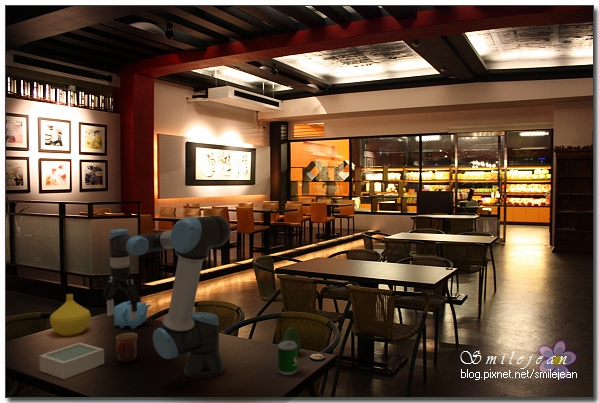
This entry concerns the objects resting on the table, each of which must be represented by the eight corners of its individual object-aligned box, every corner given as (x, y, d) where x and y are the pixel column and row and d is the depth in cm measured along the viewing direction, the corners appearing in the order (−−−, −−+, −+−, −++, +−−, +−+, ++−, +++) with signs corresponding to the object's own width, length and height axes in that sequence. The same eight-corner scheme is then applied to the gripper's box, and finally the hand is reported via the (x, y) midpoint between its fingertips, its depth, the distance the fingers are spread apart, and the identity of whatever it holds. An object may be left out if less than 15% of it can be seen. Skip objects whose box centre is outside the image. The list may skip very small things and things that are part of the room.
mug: (123, 355, 216) (122, 332, 216) (142, 356, 214) (141, 333, 214) (107, 365, 204) (106, 341, 204) (127, 367, 203) (126, 342, 202)
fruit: (285, 350, 220) (285, 324, 219) (302, 352, 218) (302, 325, 218) (280, 357, 212) (280, 329, 212) (299, 358, 211) (299, 330, 210)
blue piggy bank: (111, 329, 251) (111, 304, 251) (127, 320, 267) (126, 296, 266) (145, 331, 248) (144, 305, 248) (159, 322, 264) (158, 298, 263)
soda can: (290, 377, 191) (290, 347, 190) (274, 373, 195) (274, 343, 194) (301, 371, 197) (300, 341, 197) (285, 367, 201) (285, 338, 201)
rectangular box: (104, 363, 207) (103, 349, 206) (63, 379, 191) (63, 363, 191) (80, 356, 215) (79, 342, 215) (39, 370, 200) (39, 355, 199)
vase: (58, 327, 255) (57, 290, 254) (95, 326, 257) (94, 289, 256) (44, 339, 237) (42, 300, 236) (84, 338, 239) (83, 298, 238)
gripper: (148, 267, 204) (150, 318, 205) (107, 263, 217) (108, 311, 218) (134, 270, 198) (136, 323, 199) (92, 265, 210) (94, 315, 211)
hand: (121, 317), depth 208 cm, fingers open, 13 cm apart
